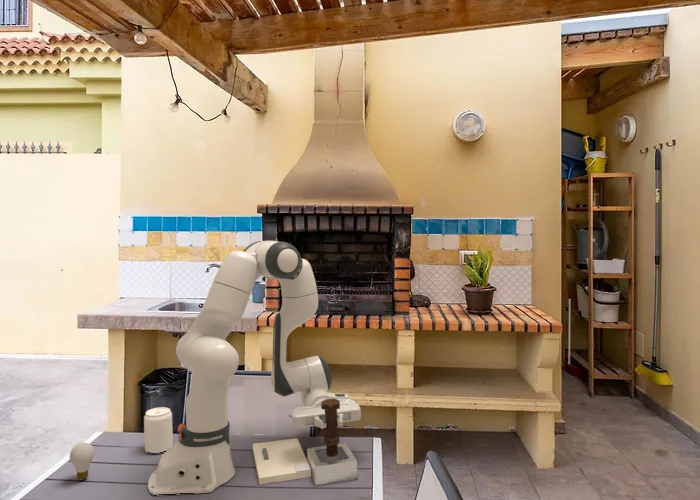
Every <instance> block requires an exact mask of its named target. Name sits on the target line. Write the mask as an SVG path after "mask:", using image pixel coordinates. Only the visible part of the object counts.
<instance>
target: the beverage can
mask: <svg viewBox="0 0 700 500" xmlns="http://www.w3.org/2000/svg"><path fill="white" fill-rule="evenodd" d="M143 425H144V426H143V431H144V433H143V434H144V436H143V437H144V451H145V452H146V451H147V452H146V453H148V452H151V453H157V452H163V451H166V450H168V449H169V448H171V447H172V445H174V442H173V441H174V440H173V439H174V438H173V435H174V434H173V413H172V411H171V408H169V407H165V406H161V407H155V408H151V409H148V410H146V411H145V415H144V416H143ZM151 453H150V454H151ZM163 453H164V452H163Z"/></svg>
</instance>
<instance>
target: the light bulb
mask: <svg viewBox="0 0 700 500" xmlns="http://www.w3.org/2000/svg"><path fill="white" fill-rule="evenodd" d="M94 456H95V448H94V446H93V445H92V444H90V443H89V442H80V443H78V444H76V445H74V447H72V449H71V450H70V452H69V461H70V462H71V464H72V465H73V466H74V469H75V472H76V478H77V479H78V480H79V479H84V478H86V479H87V478H89V469H90V465H91V462H92V461H93V459H94Z"/></svg>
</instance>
